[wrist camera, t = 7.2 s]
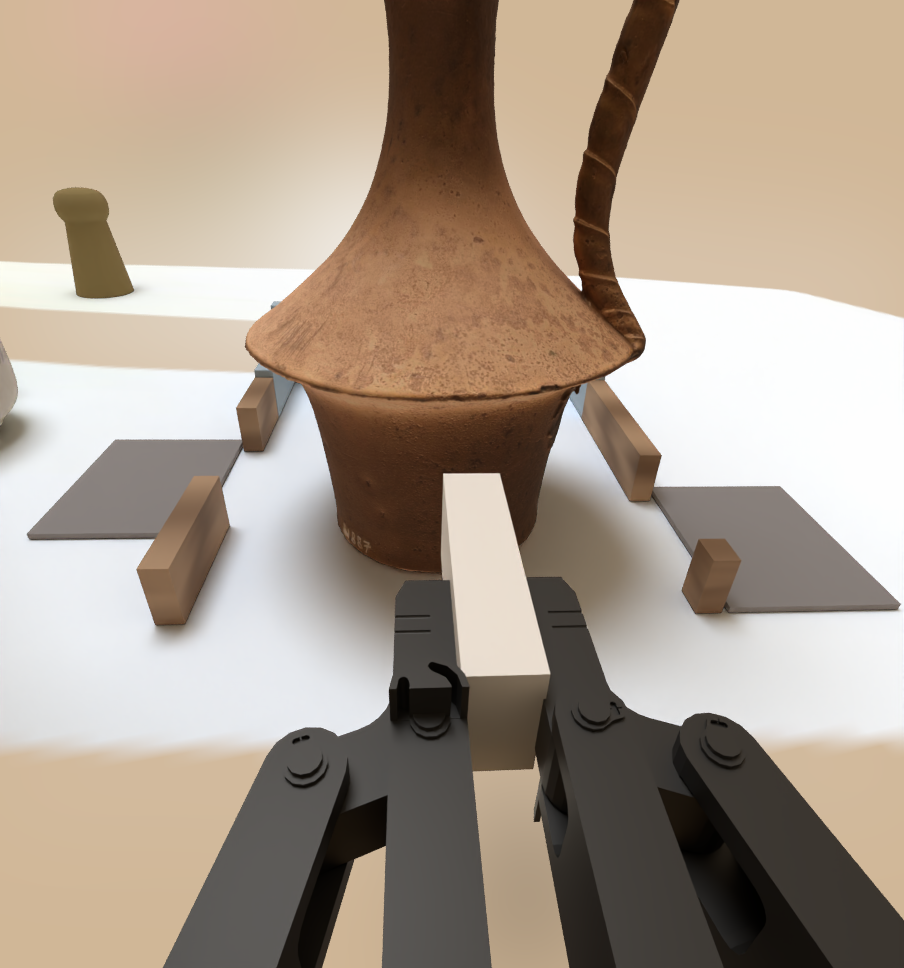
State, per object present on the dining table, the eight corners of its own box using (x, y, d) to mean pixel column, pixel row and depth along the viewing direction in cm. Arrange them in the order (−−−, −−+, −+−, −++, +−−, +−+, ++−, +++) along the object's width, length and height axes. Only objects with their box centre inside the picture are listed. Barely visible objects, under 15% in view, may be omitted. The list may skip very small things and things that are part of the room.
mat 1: (195, 537, 29) (194, 532, 29) (28, 538, 28) (26, 534, 28) (244, 443, 37) (243, 439, 37) (116, 443, 37) (115, 439, 37)
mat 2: (897, 609, 26) (900, 604, 26) (728, 612, 26) (730, 607, 25) (778, 490, 34) (780, 486, 34) (649, 491, 34) (650, 486, 34)
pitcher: (603, 460, 37) (727, -167, 22) (603, 663, 23) (946, -692, 8) (346, 426, 40) (305, -147, 25) (206, 586, 26) (-77, -505, 11)
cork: (85, 286, 70) (54, 185, 64) (138, 285, 71) (114, 186, 65) (69, 298, 65) (35, 190, 59) (127, 297, 66) (99, 191, 61)
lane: (721, 612, 25) (741, 560, 24) (154, 624, 24) (136, 569, 22) (597, 418, 42) (604, 380, 41) (261, 417, 41) (255, 377, 39)
